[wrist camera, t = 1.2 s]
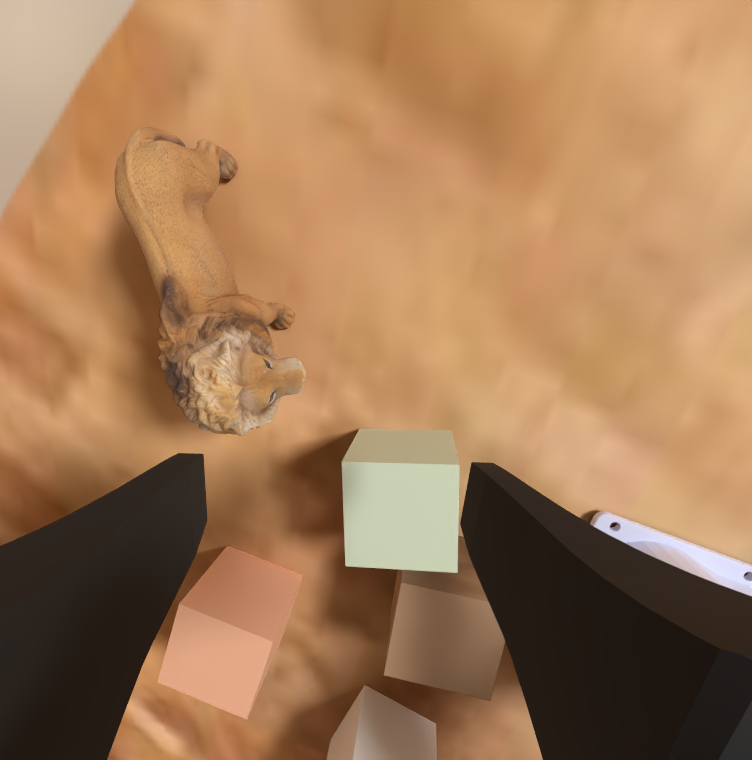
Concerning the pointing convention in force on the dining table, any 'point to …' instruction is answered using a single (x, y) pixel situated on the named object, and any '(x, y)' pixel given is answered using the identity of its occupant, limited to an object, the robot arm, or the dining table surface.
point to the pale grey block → (382, 731)
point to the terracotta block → (229, 631)
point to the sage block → (401, 500)
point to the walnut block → (444, 630)
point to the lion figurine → (201, 288)
